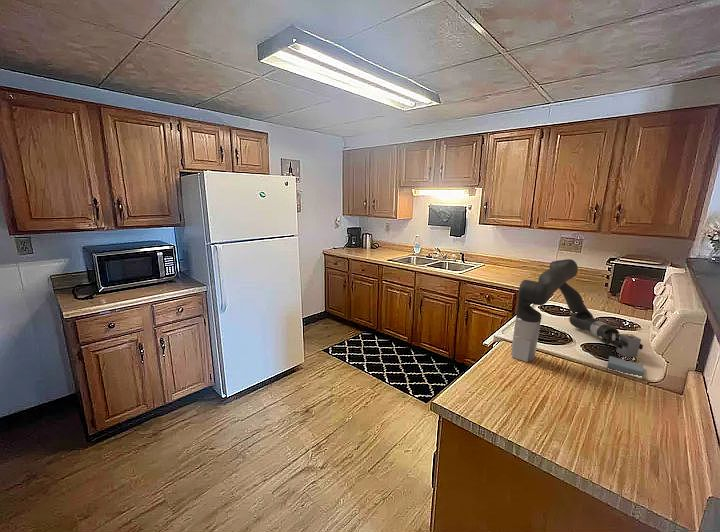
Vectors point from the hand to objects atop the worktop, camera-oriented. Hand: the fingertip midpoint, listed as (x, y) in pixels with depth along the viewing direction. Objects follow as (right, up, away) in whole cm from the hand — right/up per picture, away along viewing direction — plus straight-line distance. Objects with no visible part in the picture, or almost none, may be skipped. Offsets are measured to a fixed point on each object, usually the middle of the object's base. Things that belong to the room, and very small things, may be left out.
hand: (631, 347), depth 138 cm
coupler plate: (-9, -7, -7) cm, 13 cm away
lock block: (0, -6, +3) cm, 6 cm away
